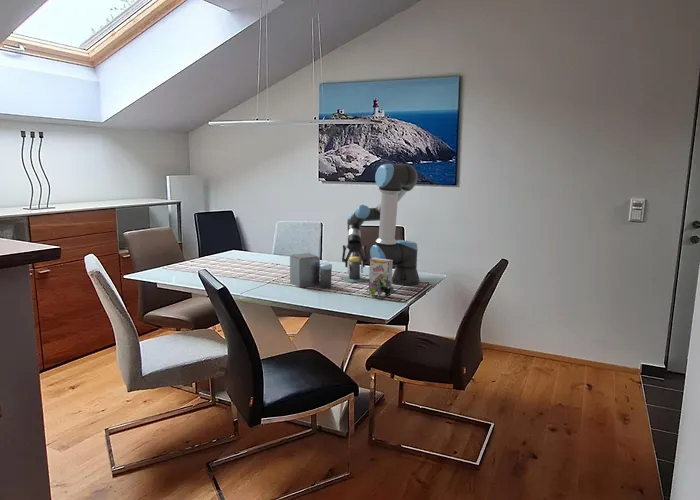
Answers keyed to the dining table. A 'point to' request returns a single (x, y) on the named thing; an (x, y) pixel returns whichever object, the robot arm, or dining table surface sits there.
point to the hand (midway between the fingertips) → (355, 271)
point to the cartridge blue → (325, 275)
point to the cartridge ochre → (354, 267)
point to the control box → (304, 270)
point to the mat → (354, 280)
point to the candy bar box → (380, 270)
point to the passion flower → (381, 287)
